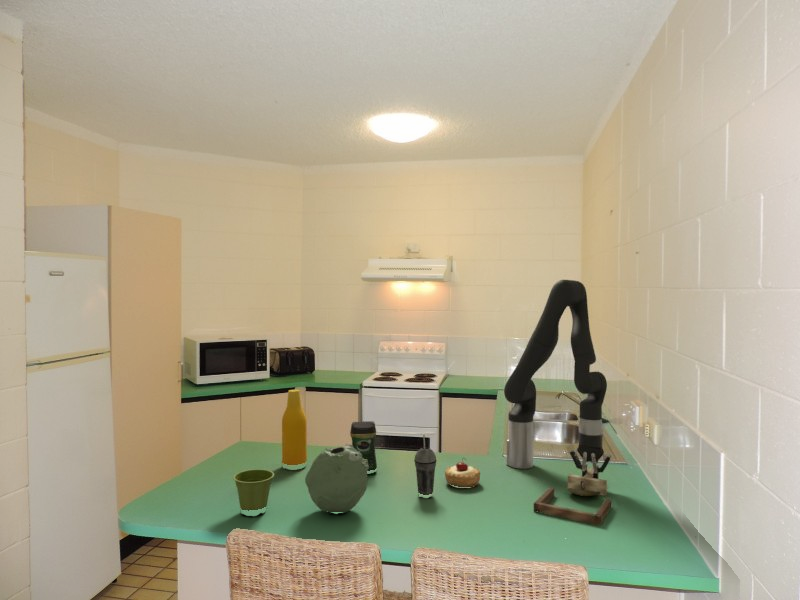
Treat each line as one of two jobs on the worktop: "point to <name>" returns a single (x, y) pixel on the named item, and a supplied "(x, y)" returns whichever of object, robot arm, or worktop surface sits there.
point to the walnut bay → (571, 510)
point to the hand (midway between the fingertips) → (590, 482)
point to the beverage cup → (425, 469)
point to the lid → (583, 491)
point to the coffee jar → (365, 441)
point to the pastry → (462, 475)
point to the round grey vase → (337, 478)
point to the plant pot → (253, 488)
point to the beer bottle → (294, 431)
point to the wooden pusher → (588, 482)
